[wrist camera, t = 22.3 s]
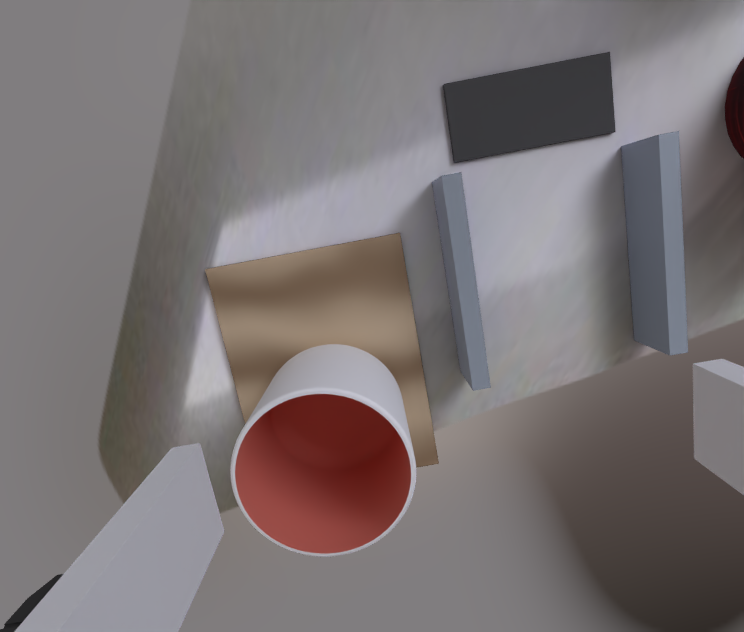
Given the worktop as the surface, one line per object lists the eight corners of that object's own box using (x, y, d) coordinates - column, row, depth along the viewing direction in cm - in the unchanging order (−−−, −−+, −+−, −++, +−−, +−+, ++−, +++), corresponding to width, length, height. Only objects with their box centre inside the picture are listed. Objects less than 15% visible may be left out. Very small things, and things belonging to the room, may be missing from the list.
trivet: (207, 268, 32) (205, 269, 31) (399, 232, 31) (399, 232, 31) (264, 491, 35) (263, 494, 35) (437, 460, 35) (438, 463, 35)
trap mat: (443, 85, 30) (443, 84, 29) (607, 53, 29) (609, 51, 29) (454, 162, 31) (454, 162, 30) (612, 132, 30) (615, 131, 30)
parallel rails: (431, 182, 31) (441, 175, 27) (638, 143, 31) (678, 130, 27) (460, 371, 34) (472, 390, 30) (650, 337, 33) (688, 352, 29)
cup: (289, 476, 35) (259, 574, 25) (253, 356, 33) (205, 412, 23) (414, 448, 34) (433, 536, 25) (385, 325, 32) (393, 369, 23)
